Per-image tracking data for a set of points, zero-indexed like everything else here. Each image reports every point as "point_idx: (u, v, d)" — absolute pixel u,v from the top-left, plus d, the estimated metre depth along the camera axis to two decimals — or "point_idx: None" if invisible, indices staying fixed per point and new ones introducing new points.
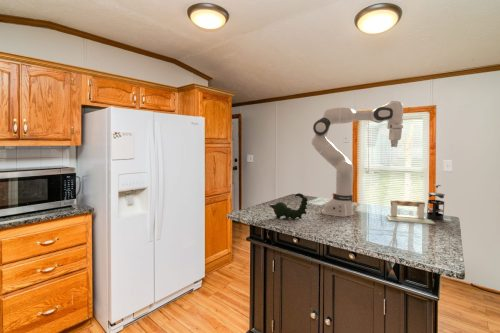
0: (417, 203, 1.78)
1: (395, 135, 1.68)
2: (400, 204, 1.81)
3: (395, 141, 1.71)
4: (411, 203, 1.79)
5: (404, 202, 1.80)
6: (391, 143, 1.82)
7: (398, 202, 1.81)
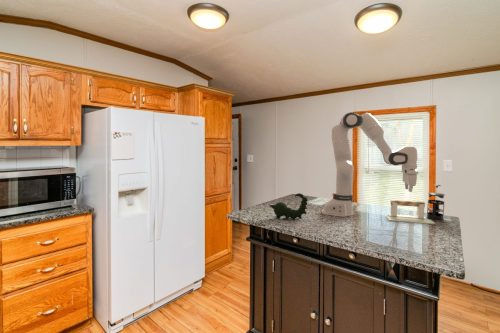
0: (417, 203, 1.78)
1: (410, 181, 1.70)
2: (400, 204, 1.81)
3: (410, 186, 1.74)
4: (411, 203, 1.79)
5: (404, 202, 1.80)
6: (405, 185, 1.85)
7: (398, 202, 1.81)
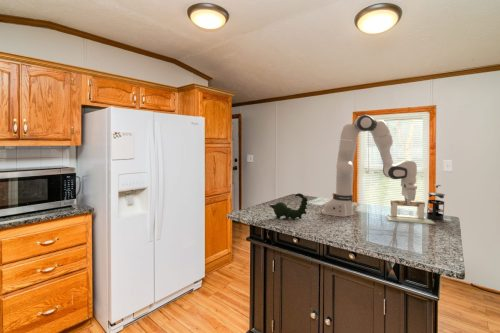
0: (417, 203, 1.78)
1: (409, 196, 1.71)
2: (400, 204, 1.81)
3: (408, 200, 1.77)
4: (411, 203, 1.79)
5: (404, 202, 1.80)
6: (405, 200, 1.84)
7: (398, 202, 1.81)
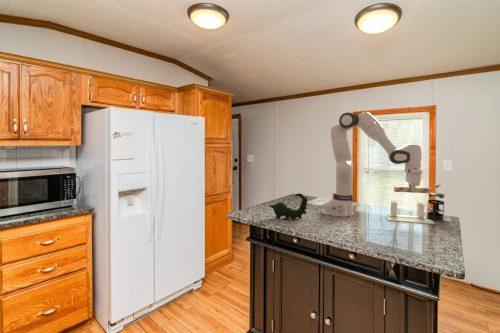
0: (422, 189, 1.68)
1: (414, 181, 1.62)
2: (404, 191, 1.71)
3: (412, 186, 1.68)
4: (416, 189, 1.69)
5: (408, 188, 1.71)
6: (409, 186, 1.74)
7: (402, 188, 1.72)
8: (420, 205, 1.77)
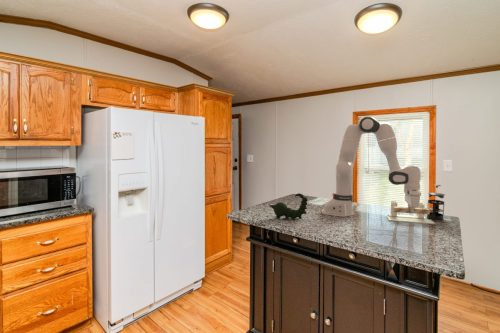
0: (421, 210, 1.70)
1: (413, 203, 1.63)
2: (403, 211, 1.73)
3: (412, 207, 1.69)
4: (415, 210, 1.71)
5: (408, 209, 1.72)
6: (408, 206, 1.75)
7: (401, 209, 1.73)
8: (420, 205, 1.77)
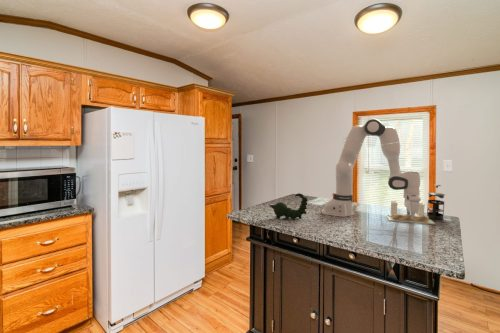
0: (420, 218, 1.70)
1: (412, 208, 1.64)
2: (403, 218, 1.73)
3: (412, 213, 1.67)
4: (414, 217, 1.71)
5: (407, 216, 1.73)
6: (407, 211, 1.78)
7: (400, 216, 1.74)
8: (420, 205, 1.77)
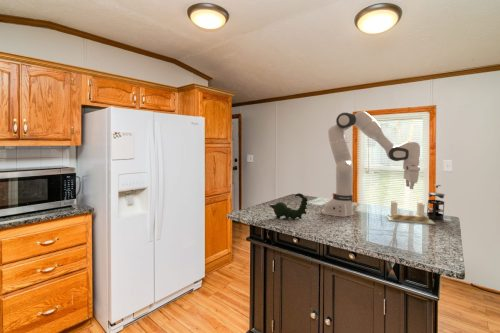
0: (420, 218, 1.70)
1: (412, 178, 1.63)
2: (403, 218, 1.73)
3: (411, 183, 1.67)
4: (414, 217, 1.71)
5: (407, 216, 1.73)
6: (406, 183, 1.78)
7: (400, 216, 1.74)
8: (420, 205, 1.77)
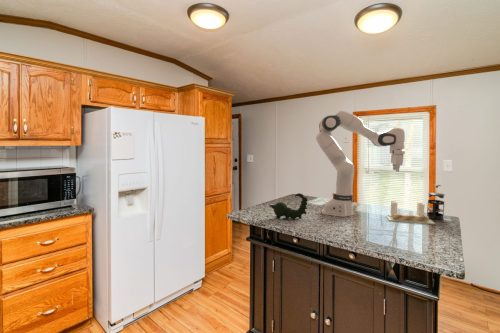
0: (420, 218, 1.70)
1: (397, 161, 1.76)
2: (403, 218, 1.73)
3: (397, 166, 1.79)
4: (414, 217, 1.71)
5: (407, 216, 1.73)
6: (393, 166, 1.91)
7: (400, 216, 1.74)
8: (420, 205, 1.77)
